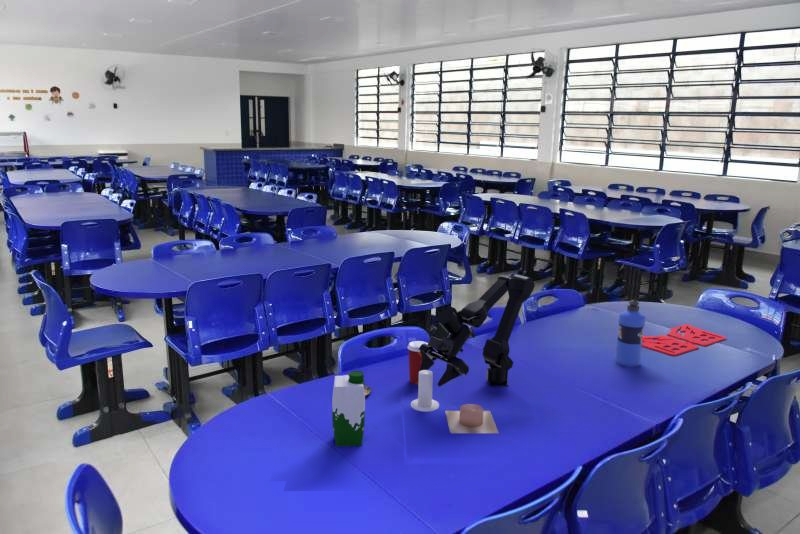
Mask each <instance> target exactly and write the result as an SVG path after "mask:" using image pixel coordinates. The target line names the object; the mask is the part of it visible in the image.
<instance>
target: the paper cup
mask: <svg viewBox="0 0 800 534" xmlns="http://www.w3.org/2000/svg"><path fill="white" fill-rule="evenodd" d="M422 344H427V345H428V342H426V341H422V340H414V341H411V342H409V343H408V345H407V351H408V371H409V372H408V373H409V375H408V376H409V382H410V383H411V384H413V385H419V376H418V373H419V370H420V366H421V362H422V355H421V354H420V350H419V348H420V346H421V345H422Z"/></svg>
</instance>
